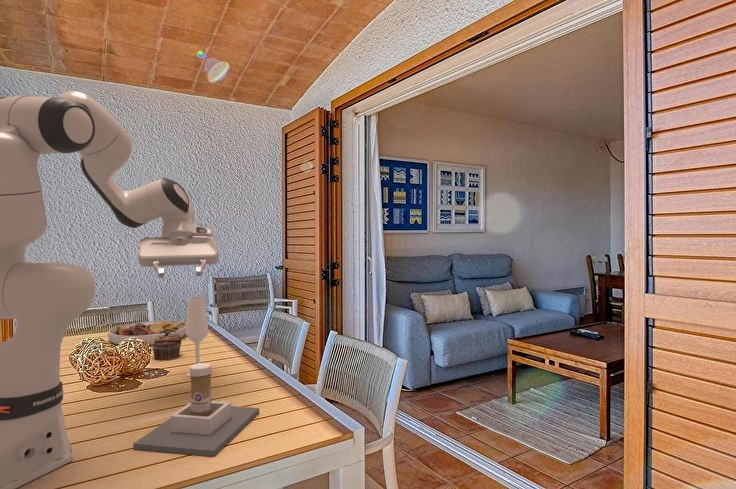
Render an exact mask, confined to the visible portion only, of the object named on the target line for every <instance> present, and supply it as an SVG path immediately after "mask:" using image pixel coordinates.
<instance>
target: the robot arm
mask: <svg viewBox="0 0 736 489" xmlns="http://www.w3.org/2000/svg"><path fill="white" fill-rule="evenodd" d="M132 147H133V143H132V138H131V137H130V135H129V133H128V131H127V130H126V129H125V128H124V126H123V125H122V124H121V123H120V122H119V121H118V120H117V119H116V118H115V117H114V116H113V115H112V114H111V113H110V112H109V111H108V110H107V109H105V107H103V106H102V105H101V104H100V103H99V102H97V101H96V100H94V99H93V98H92V97H91V96H89V95H88V94H86V93H84V92H82V91H78V90H69V91H64V92H62V93H60V94H58V95H57V96H54V97H48V96H37V95H32V94H31V95H30V94H29V95H28V94H25V95H13V96H0V320H14V319H15V320H17V326H16V330H15V332H14V335H13V336H12V337H10V338H9V339H6V340H4V341H3V342H1V343H0V489H18V488H20V487H21V486H23V485H25V484H28V483H30V482H32V481H34V480H36V479H38V478H40V477H42V476H44V475H46V474H48V473H51V472H52V471H54V470H56V469H58V468H60V467H62V466H64V465H66V464H69V463H70V462H72V460H73V456H72V453H71V451H72V444H71V443H70V440H69V437H68V433H67V430H66V428H67V427H66V423H65V418H64V413H63V410H62V401H64V400H63V399H64V389H63V388H64V387H63V382H62V381H61V376H60V375H61V374H60V373H61V372H60V371H61V370H60V369H61V365H60V364H61V348H62V343H63V340H64V337H65V334H66V332H67V330H68V328H69V327H70V325H71V324H72V323H73V322H74V321H75V319H76V318H78V317H79V316H80V315H81V314H83V313H84V312H85V311H86V310H88V308H89V307H90V306H91V304H92V303H93V301H94V298H95V296H96V282H95V280H94V277H93V276H92V274H91V272H90V271H89V270H88V269H87V268H85V267H84V266H80V265H75V264H72V263H71V264H69V263H64V262H27V261H26V258H25V252H26V248H27V246H28V245H30V244H33V243H34V242H36V241H37V240H39V239H40V238H41V237H42V236H43V235H44V234H45V232H46V230H47V228H48V221H47V213H46V207H45V206H46V205H45V200H44V195H43V188H42V184H41V178H40V174H39V171H38V167H37V166H38V161H39V158H40V156H41V155H50V154H51V155H52V154H53V155H54V154H73V153H77V152H78V153H79V154H80V156H81V157H82V158H81V159H80V168H81V171H82V173H83V175H84V176H85V178H86V179H87V181H88V182H89V184H90V185H91V186H92V187H93V189H94V190H95V191H96V192H97V194H98V195H99V196H100V197H101V198H102V200H103V201H104V202H105V203H106V205H108V207H109V208H110V210H111V211H112V213H113V215H114V217H115V218H116V219H117V221H118V222H119V223H120V224H121V225H123V226H126V227H129V228H132V229H137V228H139V227H141V226H143V225H145V224H147V223H149V222H151V221H154V220H156V219H159V218H161V221H162V227H161V236H157V237H156V236H154V237H147V236H146V237H143V238H142V239H140V240H138V242H137V249H138V253H137V254H138V255H137V257H138V260H137V261H138V265H139V266H141V267H142V268H143V267H144V268H146V267H147V268H148V267H149V268H150V267H153V270H154V271H155V272H156V273H157V279H158V278H164V277H165V270H164V268H160V267H174V266H175V267H177V266H179V267H180V266H197V267H196V268H195V275H196V276H197V277H201V276H203V271H204V270H205V269H206V265H217V263H219V258H220V253H219V247H218V245H217V241H216V239H215V238H214V237H213V232H212V229H211V228H208V227H207V228H206V227H203V226H202V227H201V226H199V225H195V224H194V223H195V210H194V206H193V203H192V200H191V197H190V196H189V195H188V194H187V192H186V191H185V189H184V187H182V185H181V184H180V183H179V182H176V181H174V180H172V179H171V178H167V177H163V178H159V179H157V180H154V181H152V182H149V183H147V184H144V185H141V186H139V187H137V188H134V189H131V190H122V189H121V188H120V187H119V185H118V184H117V182H116V181H115V180H114V179H113V175H114V174H115V173H116V172H117V171H119V170H120V169H122V168H124V166H125V165H126V164H127V163H128V161H129V159H130V156H131V154H132V150H133V148H132Z"/></svg>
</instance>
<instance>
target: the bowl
mask: <svg viewBox="0 0 736 489" xmlns="http://www.w3.org/2000/svg"><path fill="white" fill-rule="evenodd" d="M186 323H187V322H184V321H180V320H148V321H140V322H132V323H128V324H123V325H117V326H115V327H112V328H110V329H108V331H107V336H108V339H109V341H110V342H112V343H113V344H115V345H117V344H119V343H121V342H122V341H124V340H125V339H127V338H130V337H135V338H138V339H140V340H144V341H146V342H147V343H148V344H149V345H150V346H152V344H154V339H155V338H156V337H157V336H159V335H160V332H162V331H163V329H165V330H167V331H169V329H175V330H176V333H177V334H178V335H179V336H180V337H181V338H183V337H184V336H185V335H186Z"/></svg>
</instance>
